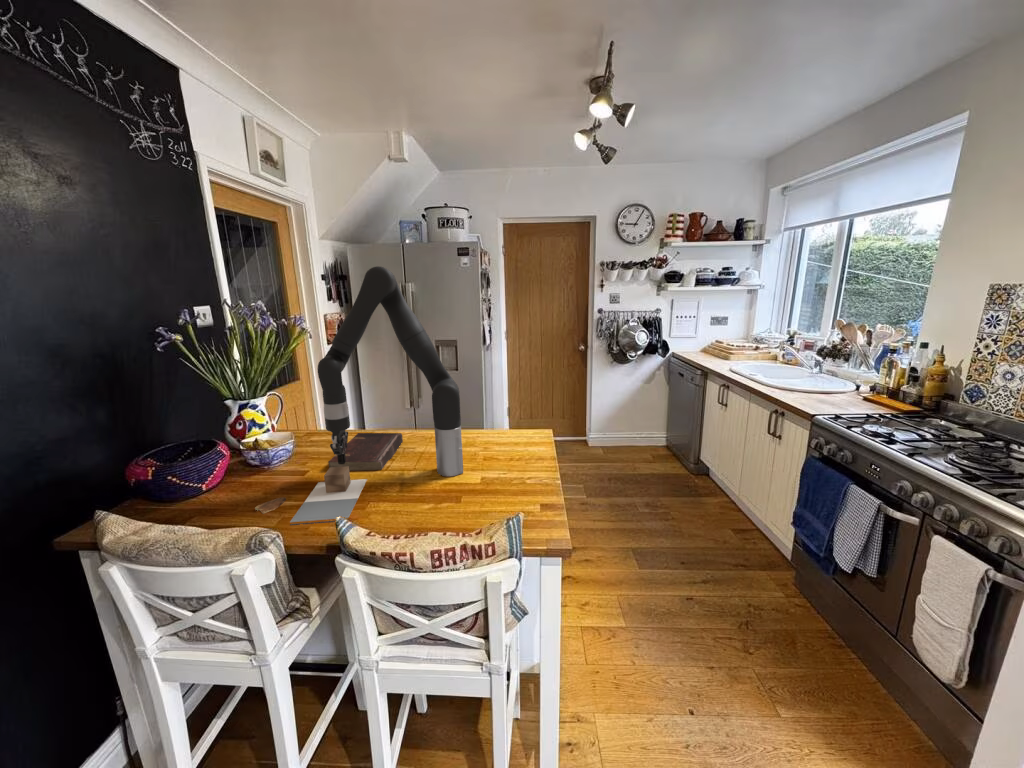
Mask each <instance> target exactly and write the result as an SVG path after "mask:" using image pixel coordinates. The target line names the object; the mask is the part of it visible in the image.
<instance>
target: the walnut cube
mask: <svg viewBox="0 0 1024 768" xmlns="http://www.w3.org/2000/svg"><path fill="white" fill-rule="evenodd" d="M350 473H351V472H350V471H349V466H345V467H330V468H329V467H328V469H327V471H326V472H325V473H324V476H323V479H324V482H325V486H326V493H331V492H345V491H346V490H347V488H348V487H349V485H350V483H351V481H350V480H351V476H350V475H351V474H350Z"/></svg>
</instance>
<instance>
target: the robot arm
mask: <svg viewBox="0 0 1024 768" xmlns="http://www.w3.org/2000/svg"><path fill="white" fill-rule="evenodd" d="M379 305H381V306H382V308H383V309H384V311H385V312H386V314H387V316H388V318H389V321H390V324H391V326H392V328H393V331H394V333H395V335H396V338H397V340H398V342H399V344H400V345H401V346H402V347H401V348H403V350H404V353H406V355H407V356H408V358H409V359H410V360H411V361H412V362H413V364H414V365H416V367H417V368H418V369H420V371H421V373H423V375H424V377H425V378H426V381H427V382H428V384H429V386H430V389H431V391H432V392H431V404H432V418H433V425H434V428H433V429H434V441H435V454H436V455H435V457H436V471H437V472H438V473H437V474H438V475H439V474H440V475H439V476H441V475H442V476H443V477H454V476H458V475H461V474H462V473H463V474H464V461H463V460H464V457H463V441H462V440H463V439H462V417H461V399H460V398H461V397H460V388H459V386H458V384H457V382H455V380H454V379H453V378H452V376H451V375H450V373H449V372H448V369H446V368H445V366H444V365H443V363H442V361H441V359H440V356H439V355H438V352H437V349H436V348H435V346H434V344H433V342H432V340H431V337H429V334H428V333H427V331H426V330H425V327H424V326H423V325H422V323H421V321H420V320H419V318H418V317H417V316H416V314H415V313H414V311H413V310H412V309H411V307H410V306H409V304H408V302H407V301H406V298H405V297H404V295H403V293H402V291H401V289H400V287H399V284H398V281H397V279H396V277H395V275H394V273H393V272H392V271H391V270H390V269H388V268H386V267H384V266H378V265H377V266H373V267H371V268H368V270H367V271H366V272H365V274H364V276H363V280H362V283H361V285H360V289H359V291H358V294H357V297H356V299H355V301H354V303H353V305H352V307H351V309H350V310H349V312H348V313H347V316H346V317H345V318H344V320H343V322H342V324H341V325H340V327H339V329H338V330H337V332H336V334H335V335H334V337H333V340H332V342H331V346H330V347H329V349H328V351H327V353H326V354H325V355H324V357H323V358H321V359H320V360H319V362H318V364H317V375H318V379H319V383H320V386H321V390H322V401H323V415H324V423H325V424H324V425H325V430H326V431H328V432H330V433H331V436H330V437H331V441H332V443H330V444H329V447H330V449H331V451H332V453H333V455H334V456H335V455H337V458H338V464H345V462H346V456H345V452H346V448H347V443H348V442H349V441H348V440H349V439H348V438H349V431H346V430H348V429H349V428H350V427H351V420H350V413H349V404H348V400H347V391H346V387H345V384H344V383H343V377H342V372H343V371H344V370H345V367H346V366H347V363H348V362H349V360H350V358H351V356H352V353H353V352H354V350H355V349H356V348H357V346H358V344H359V343H360V341H361V340H362V338H363V335H364V334H365V332H366V329H367V327H368V325H369V322H370V320H371V318H372V316H373V314H374V312H375V311H376V309H377V307H378V306H379Z"/></svg>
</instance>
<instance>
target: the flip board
mask: <svg viewBox="0 0 1024 768" xmlns="http://www.w3.org/2000/svg"><path fill="white" fill-rule="evenodd" d="M350 481H351V483H350V485H349V487H348V488H347V490H346V491H345V492H331V493H326V486H325V481H320V482H319V481H318V482H317V484H316V485H315V487H314V488H313V490H311V492H310V493H309V495H308V496H307V498H306V499H305V500H304V501H303V503H302V504H301V506H300V507H299V508H298V510H297V511H296V513H294V516H293V517H292V518H291V520H290V521H289V523H290V524H289V526H300V524H303V525H310V524H311V525H312V524H314V523H315V524H326V523H336V522H335V521H336V520H337V519H336V517H339V516H342V517H345V518H344V519H348V518H349V517H350V515H351V514H352V512H353V509H354V508H355V506H356V503H357V502H358V499H359V497H360V495H361V493H362V490H363V489H364V487H365V485H366V483H367V481H368V479H367V478H366V479H365V478H364V479H350ZM334 519H335V520H334ZM326 520H327V521H326ZM309 521H310V522H309ZM312 521H313V522H312ZM297 522H299V523H297ZM300 522H302V523H300Z"/></svg>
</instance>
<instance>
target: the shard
mask: <svg viewBox="0 0 1024 768" xmlns="http://www.w3.org/2000/svg"><path fill="white" fill-rule="evenodd" d="M286 500H287V497H277V498H274V499H272V500H267V501H266V502H263V503H260V504H258V505H256V506H255V507H254V509H255V511H256V510H257V511H256V512H258V511H260V512H261V513H262V514H263V515H264V514H267V513H268V512H271V511H274V510H276V509H278V508H279V507H280V506H281V505H283V504H284V503H285V502H286Z"/></svg>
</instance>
